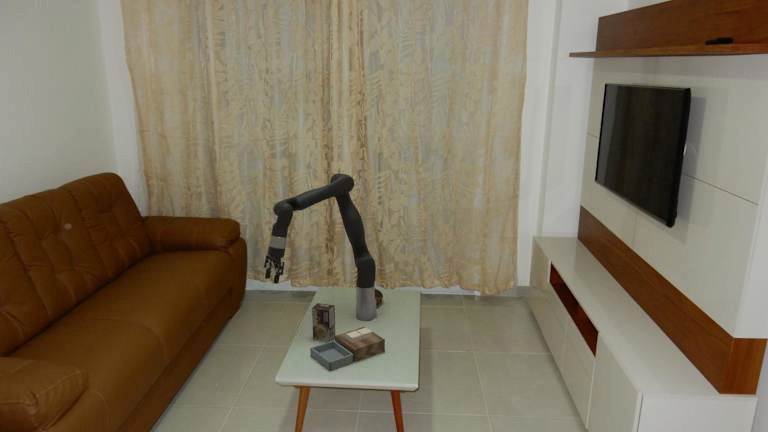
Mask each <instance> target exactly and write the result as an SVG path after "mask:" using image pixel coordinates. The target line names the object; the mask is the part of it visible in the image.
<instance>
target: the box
mask: <svg viewBox="0 0 768 432" xmlns="http://www.w3.org/2000/svg"><path fill="white" fill-rule="evenodd" d="M309 350H310V357H311V358H312V359H314V360H315V361H316V362H317V363H319V364H320V365H321V366H323V367H324V368H325V369H326V370H328V371H329V372H332V371H334V370H338V369H340V368H343V367H346V366H349V365H351V364H354V363H355V362H354V354H353V353H351V352H350V351H348V350H347V349H345V348H344V347H343V346H341V345H340V344H338V343H337V342H335V339H333V341H330V342H323V343H321V344H318V345H315V346H312V347H310V348H309Z"/></svg>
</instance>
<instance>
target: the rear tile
mask: <svg viewBox="0 0 768 432" xmlns="http://www.w3.org/2000/svg"><path fill="white" fill-rule="evenodd" d="M356 331H357V332H358V333H360V334H361V335H362V340H364V339H367V338H370V337H372V332H373V331H372V330H370V329H369V328H367V327H365V328H363V329H360V330H356Z"/></svg>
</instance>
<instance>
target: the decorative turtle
mask: <svg viewBox="0 0 768 432" xmlns="http://www.w3.org/2000/svg"><path fill="white" fill-rule="evenodd" d="M374 291H375V299H376V306H379V305H381V303H382V301H383V297H384V295H383V292H381V290H379V289H377V288H376V287H375V286H374Z"/></svg>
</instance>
